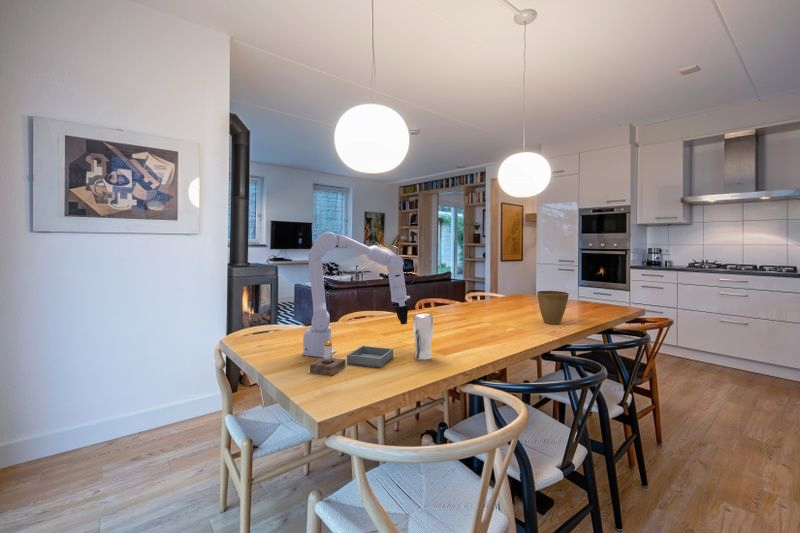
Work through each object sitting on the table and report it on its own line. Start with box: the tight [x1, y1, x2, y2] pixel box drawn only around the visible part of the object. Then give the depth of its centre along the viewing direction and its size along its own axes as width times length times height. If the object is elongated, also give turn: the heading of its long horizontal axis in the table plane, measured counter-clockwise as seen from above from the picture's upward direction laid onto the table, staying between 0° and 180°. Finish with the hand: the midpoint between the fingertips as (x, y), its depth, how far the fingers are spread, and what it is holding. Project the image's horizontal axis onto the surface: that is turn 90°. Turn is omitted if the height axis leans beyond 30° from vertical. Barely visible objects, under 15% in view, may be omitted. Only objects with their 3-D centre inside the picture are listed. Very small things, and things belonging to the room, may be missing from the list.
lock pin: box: [324, 340, 333, 364], centre depth 113 cm, size 2×2×9 cm
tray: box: [346, 345, 394, 369], centre depth 123 cm, size 12×12×3 cm
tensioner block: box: [309, 357, 346, 376], centre depth 114 cm, size 8×8×2 cm
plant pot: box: [536, 290, 570, 326], centre depth 184 cm, size 15×15×16 cm
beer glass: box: [412, 313, 434, 361], centre depth 126 cm, size 7×7×15 cm
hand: (402, 321), depth 136 cm, fingers open, 7 cm apart
